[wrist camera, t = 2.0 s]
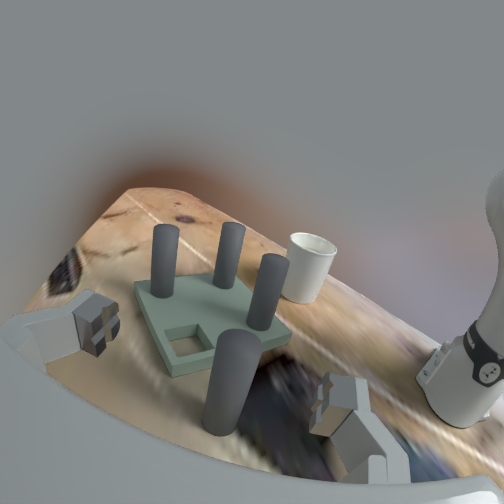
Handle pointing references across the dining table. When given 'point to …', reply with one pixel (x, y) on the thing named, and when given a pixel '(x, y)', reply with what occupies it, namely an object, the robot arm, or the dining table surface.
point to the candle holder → (307, 267)
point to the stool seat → (209, 299)
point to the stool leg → (230, 379)
